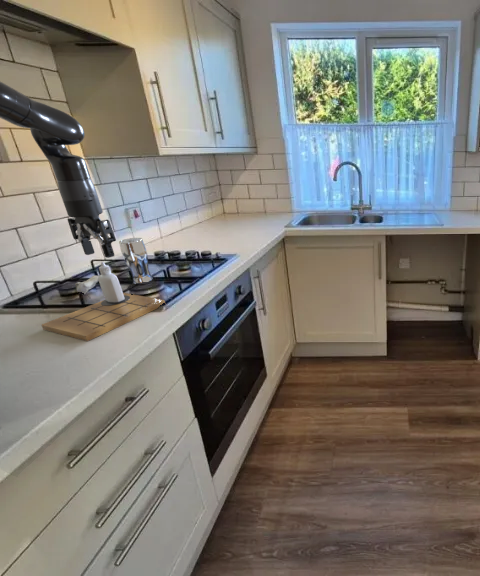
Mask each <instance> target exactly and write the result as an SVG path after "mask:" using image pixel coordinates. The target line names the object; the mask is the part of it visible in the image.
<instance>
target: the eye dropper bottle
mask: <svg viewBox="0 0 480 576" xmlns="http://www.w3.org/2000/svg"><path fill="white" fill-rule="evenodd" d="M98 270H99V275H98V276H99V277H98V280H99V281H98V283H99V286H100V288H101V291H102V294H103V297H104V300H106V301H107V302H111V303H117V302H120V301H123V300H124V299H125V298H124V295H123V293H124V292H123V289H122V286H121V284H120V280H119V278H118V276H117V275H116V274H115V273H112V271H111V268H110V265H107V264H105V262H104V261H102V262H100V266H99V267H98Z"/></svg>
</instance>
